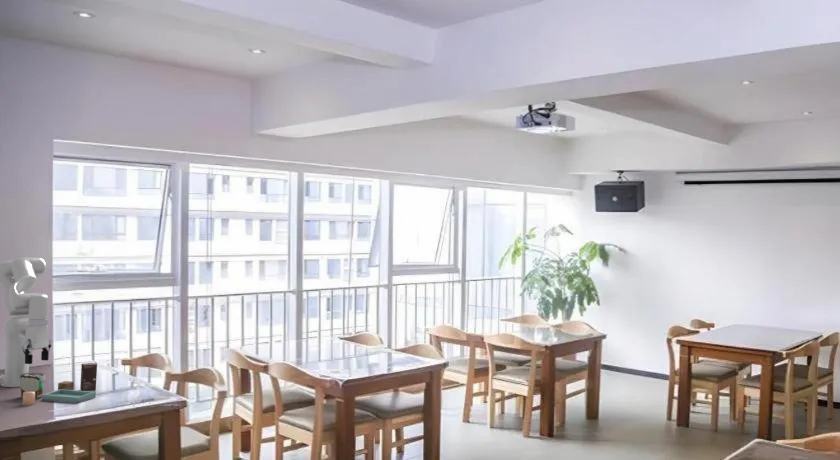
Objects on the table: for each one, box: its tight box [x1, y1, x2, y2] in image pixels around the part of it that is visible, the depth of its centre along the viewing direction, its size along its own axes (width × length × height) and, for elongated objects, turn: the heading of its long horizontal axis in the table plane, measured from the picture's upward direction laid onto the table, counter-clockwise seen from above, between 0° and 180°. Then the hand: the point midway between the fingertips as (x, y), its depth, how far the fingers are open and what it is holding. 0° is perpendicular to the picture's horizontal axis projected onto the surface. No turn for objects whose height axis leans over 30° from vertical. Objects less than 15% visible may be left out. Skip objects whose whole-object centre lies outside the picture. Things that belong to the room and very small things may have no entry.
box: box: [79, 362, 98, 391], centre depth 316 cm, size 6×4×12 cm
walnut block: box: [57, 380, 75, 390], centre depth 310 cm, size 4×4×4 cm
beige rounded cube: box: [22, 391, 36, 407], centre depth 287 cm, size 4×4×5 cm
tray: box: [41, 389, 97, 404], centre depth 298 cm, size 17×11×2 cm, turn 80°
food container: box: [19, 372, 46, 400], centre depth 300 cm, size 12×6×10 cm, turn 71°
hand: (36, 362), depth 300 cm, fingers open, 9 cm apart
